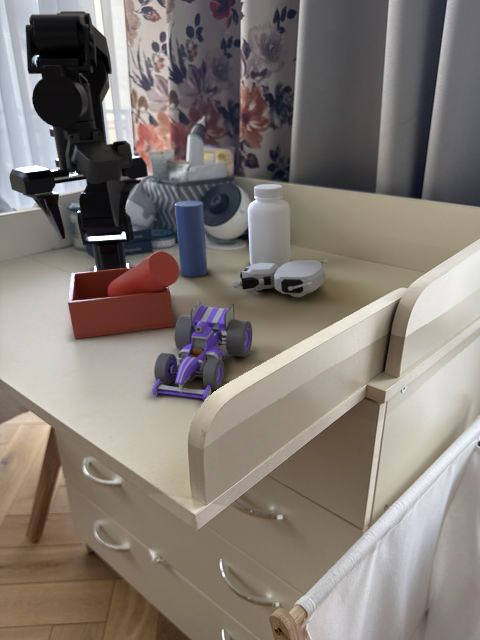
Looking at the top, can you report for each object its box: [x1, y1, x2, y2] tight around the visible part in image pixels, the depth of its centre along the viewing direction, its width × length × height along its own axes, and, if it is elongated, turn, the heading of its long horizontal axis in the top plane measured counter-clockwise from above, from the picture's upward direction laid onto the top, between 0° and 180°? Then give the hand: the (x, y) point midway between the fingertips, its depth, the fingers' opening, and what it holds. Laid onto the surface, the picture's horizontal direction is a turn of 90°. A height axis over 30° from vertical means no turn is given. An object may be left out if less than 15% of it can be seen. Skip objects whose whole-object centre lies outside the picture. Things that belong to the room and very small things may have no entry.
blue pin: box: [174, 200, 208, 278], centre depth 100 cm, size 5×5×13 cm
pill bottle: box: [247, 183, 291, 267], centre depth 103 cm, size 8×8×15 cm
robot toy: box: [231, 259, 329, 299], centre depth 93 cm, size 12×4×15 cm
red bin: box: [67, 266, 174, 340], centre depth 84 cm, size 13×14×6 cm
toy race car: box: [151, 300, 253, 403], centre depth 68 cm, size 10×15×6 cm, turn 165°
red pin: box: [108, 250, 180, 297], centre depth 81 cm, size 5×5×13 cm
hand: (91, 232), depth 82 cm, fingers open, 9 cm apart
